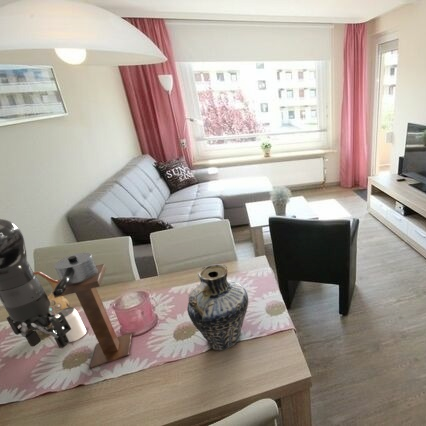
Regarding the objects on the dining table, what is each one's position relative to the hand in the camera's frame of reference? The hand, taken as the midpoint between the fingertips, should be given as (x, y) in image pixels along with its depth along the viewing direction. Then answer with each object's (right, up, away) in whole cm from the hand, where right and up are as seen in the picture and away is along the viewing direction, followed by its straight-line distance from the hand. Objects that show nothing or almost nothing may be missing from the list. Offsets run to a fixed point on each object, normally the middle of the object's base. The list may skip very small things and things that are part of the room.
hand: (50, 344), depth 79 cm
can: (-19, -12, +31) cm, 39 cm away
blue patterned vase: (+39, -11, +26) cm, 49 cm away
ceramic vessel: (-32, -9, +38) cm, 51 cm away
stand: (0, -14, +24) cm, 28 cm away
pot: (+1, +14, +7) cm, 16 cm away
